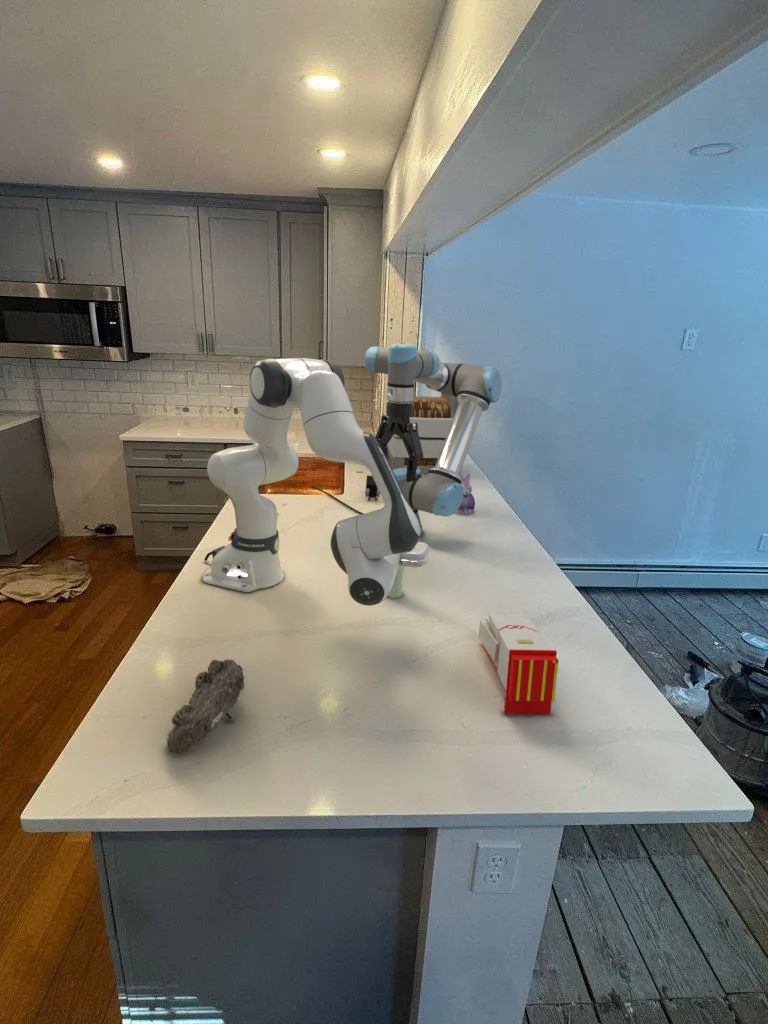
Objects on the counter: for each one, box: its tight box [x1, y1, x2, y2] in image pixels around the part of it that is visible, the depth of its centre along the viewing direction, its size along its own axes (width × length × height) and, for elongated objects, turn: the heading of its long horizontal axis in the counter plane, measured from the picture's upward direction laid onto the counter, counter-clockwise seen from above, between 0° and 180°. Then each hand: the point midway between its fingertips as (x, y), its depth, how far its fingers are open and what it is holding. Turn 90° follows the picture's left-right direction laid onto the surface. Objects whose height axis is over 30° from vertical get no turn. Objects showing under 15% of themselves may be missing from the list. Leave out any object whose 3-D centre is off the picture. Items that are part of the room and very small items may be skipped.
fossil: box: [166, 658, 245, 754], centre depth 106 cm, size 22×10×15 cm
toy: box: [477, 613, 560, 715], centre depth 124 cm, size 12×13×30 cm
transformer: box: [385, 392, 462, 475], centre depth 268 cm, size 34×33×41 cm
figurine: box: [455, 473, 476, 515], centre depth 223 cm, size 9×10×15 cm
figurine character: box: [364, 474, 381, 502], centre depth 236 cm, size 7×8×15 cm
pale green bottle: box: [386, 566, 405, 599], centre depth 155 cm, size 5×5×18 cm
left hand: (389, 537), depth 140 cm, fingers open, 8 cm apart
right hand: (396, 475), depth 165 cm, fingers open, 13 cm apart
